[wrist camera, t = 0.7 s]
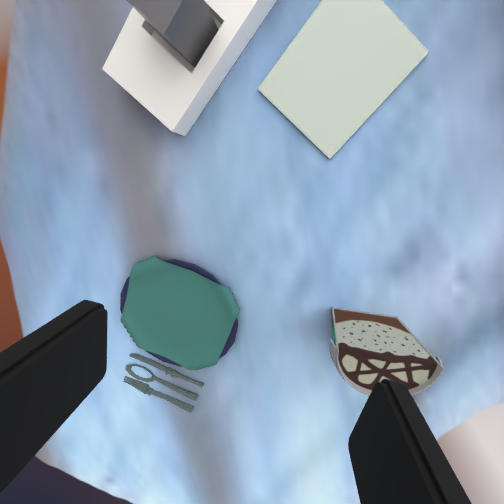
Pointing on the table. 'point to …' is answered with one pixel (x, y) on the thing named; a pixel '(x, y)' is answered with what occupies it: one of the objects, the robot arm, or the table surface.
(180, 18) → the block
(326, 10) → the mat
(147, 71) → the power strip
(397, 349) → the food container
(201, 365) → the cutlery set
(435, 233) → the table surface
